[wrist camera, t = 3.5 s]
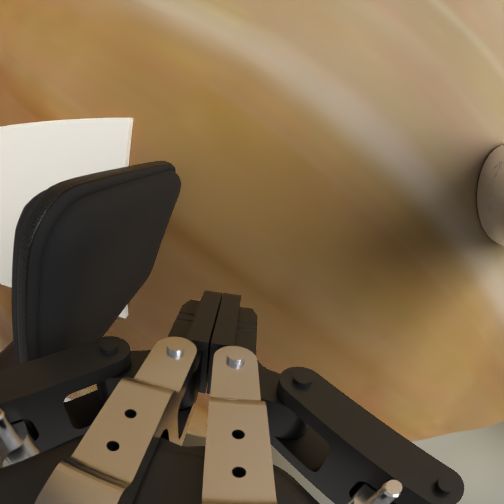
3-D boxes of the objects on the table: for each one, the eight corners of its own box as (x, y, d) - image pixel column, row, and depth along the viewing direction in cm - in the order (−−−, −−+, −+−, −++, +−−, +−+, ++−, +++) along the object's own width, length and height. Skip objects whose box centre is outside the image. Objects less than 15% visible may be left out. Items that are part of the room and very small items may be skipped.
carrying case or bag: (148, 293, 24) (57, 431, 10) (116, 277, 24) (7, 398, 10) (195, 168, 21) (71, 214, 7) (156, 152, 20) (0, 177, 6)
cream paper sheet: (133, 118, 19) (130, 117, 19) (128, 314, 25) (125, 318, 24) (-5, 127, 19) (-9, 128, 19) (3, 281, 24) (0, 284, 24)
